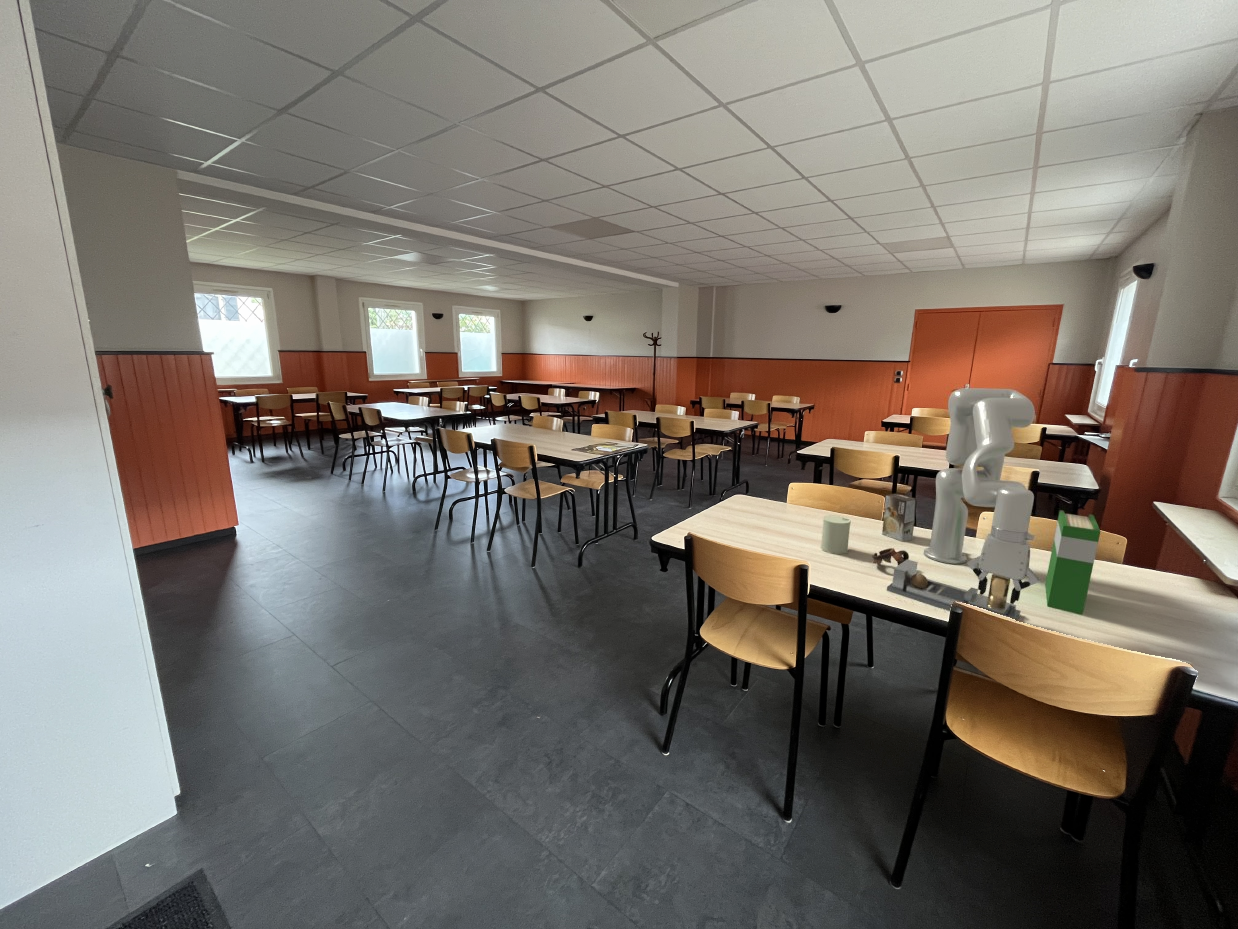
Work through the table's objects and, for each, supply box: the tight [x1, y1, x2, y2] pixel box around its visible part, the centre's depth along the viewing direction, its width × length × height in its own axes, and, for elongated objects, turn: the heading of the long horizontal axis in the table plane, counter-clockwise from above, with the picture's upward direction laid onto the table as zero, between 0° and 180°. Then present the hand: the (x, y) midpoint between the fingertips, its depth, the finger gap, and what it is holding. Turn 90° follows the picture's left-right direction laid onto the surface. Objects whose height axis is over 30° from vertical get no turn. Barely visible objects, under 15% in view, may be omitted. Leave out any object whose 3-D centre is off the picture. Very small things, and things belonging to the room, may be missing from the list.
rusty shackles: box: [871, 547, 910, 566], centre depth 167 cm, size 12×10×8 cm
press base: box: [886, 559, 1021, 621], centre depth 144 cm, size 12×30×7 cm, turn 41°
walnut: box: [911, 573, 928, 589], centre depth 150 cm, size 4×4×4 cm
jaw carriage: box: [964, 574, 1011, 616], centre depth 137 cm, size 7×9×10 cm
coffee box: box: [881, 493, 918, 542], centre depth 195 cm, size 9×6×16 cm
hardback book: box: [1044, 509, 1102, 615], centre depth 145 cm, size 18×7×24 cm, turn 142°
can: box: [820, 514, 852, 555], centre depth 183 cm, size 9×9×12 cm
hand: (997, 597), depth 136 cm, fingers open, 6 cm apart
